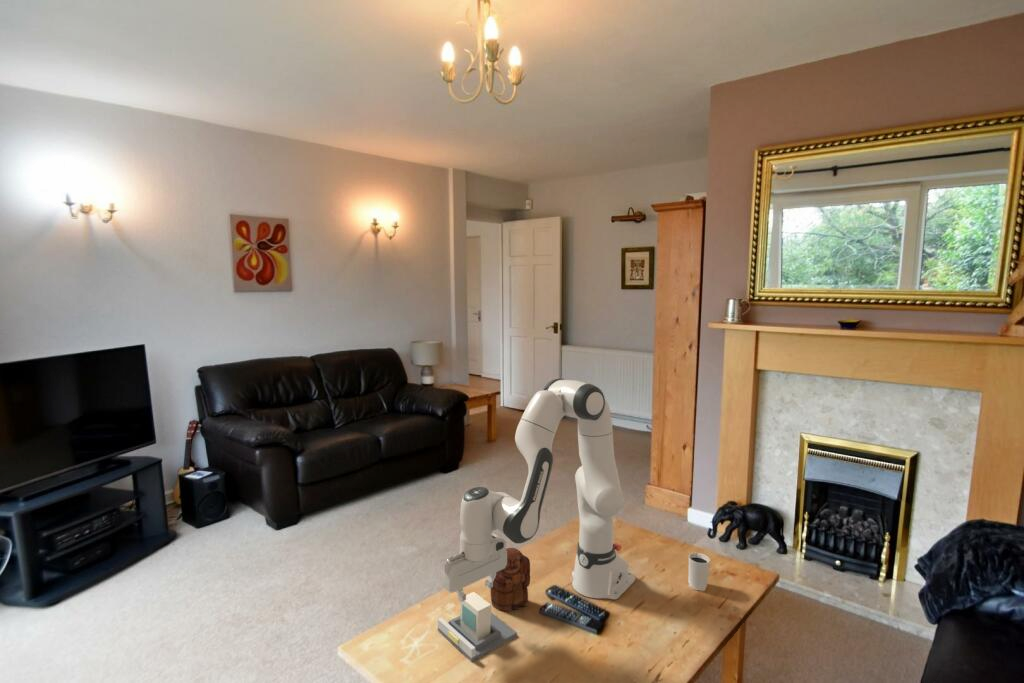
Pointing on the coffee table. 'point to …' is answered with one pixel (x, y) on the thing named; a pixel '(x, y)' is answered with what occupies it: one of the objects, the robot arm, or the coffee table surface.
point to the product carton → (476, 616)
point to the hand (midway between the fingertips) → (475, 593)
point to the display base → (469, 644)
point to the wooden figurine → (512, 582)
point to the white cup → (698, 571)
